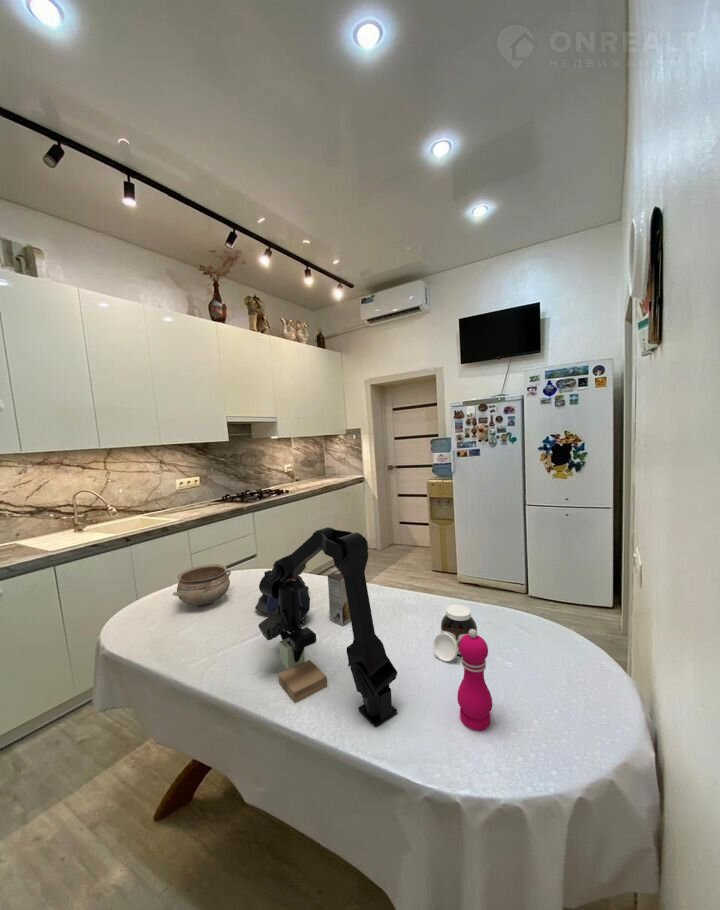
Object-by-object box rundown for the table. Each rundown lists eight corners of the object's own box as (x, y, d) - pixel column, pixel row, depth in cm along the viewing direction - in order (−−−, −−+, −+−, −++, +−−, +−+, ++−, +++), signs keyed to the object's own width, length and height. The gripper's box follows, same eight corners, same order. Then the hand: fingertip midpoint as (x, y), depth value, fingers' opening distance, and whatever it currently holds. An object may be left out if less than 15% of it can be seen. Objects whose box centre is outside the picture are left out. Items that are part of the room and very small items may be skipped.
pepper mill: (485, 705, 82) (483, 620, 81) (498, 731, 74) (496, 637, 73) (453, 708, 81) (451, 621, 80) (464, 734, 74) (461, 639, 73)
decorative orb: (283, 626, 110) (301, 577, 117) (250, 615, 118) (269, 570, 125) (309, 636, 120) (324, 590, 127) (276, 625, 128) (293, 582, 135)
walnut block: (327, 688, 90) (326, 676, 90) (294, 705, 85) (294, 692, 85) (310, 670, 97) (309, 659, 97) (279, 685, 92) (278, 673, 92)
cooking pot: (215, 586, 156) (214, 559, 155) (246, 594, 146) (245, 565, 146) (159, 612, 134) (157, 580, 134) (191, 623, 125) (189, 588, 124)
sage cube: (304, 663, 100) (303, 642, 99) (288, 671, 97) (287, 649, 96) (296, 655, 104) (295, 634, 103) (280, 662, 101) (279, 641, 100)
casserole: (280, 586, 153) (279, 567, 153) (319, 591, 147) (318, 571, 147) (242, 614, 130) (241, 591, 129) (288, 621, 123) (286, 597, 123)
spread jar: (477, 644, 106) (476, 605, 105) (479, 668, 95) (478, 625, 94) (435, 639, 109) (434, 602, 108) (432, 662, 98) (431, 620, 97)
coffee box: (346, 610, 129) (344, 566, 129) (360, 615, 125) (358, 570, 125) (329, 621, 122) (326, 574, 122) (343, 626, 118) (340, 578, 118)
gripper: (249, 599, 102) (252, 652, 103) (275, 625, 87) (279, 687, 88) (285, 588, 109) (288, 638, 110) (316, 611, 94) (318, 669, 94)
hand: (292, 657), depth 100 cm, fingers closed on sage cube, 5 cm apart
